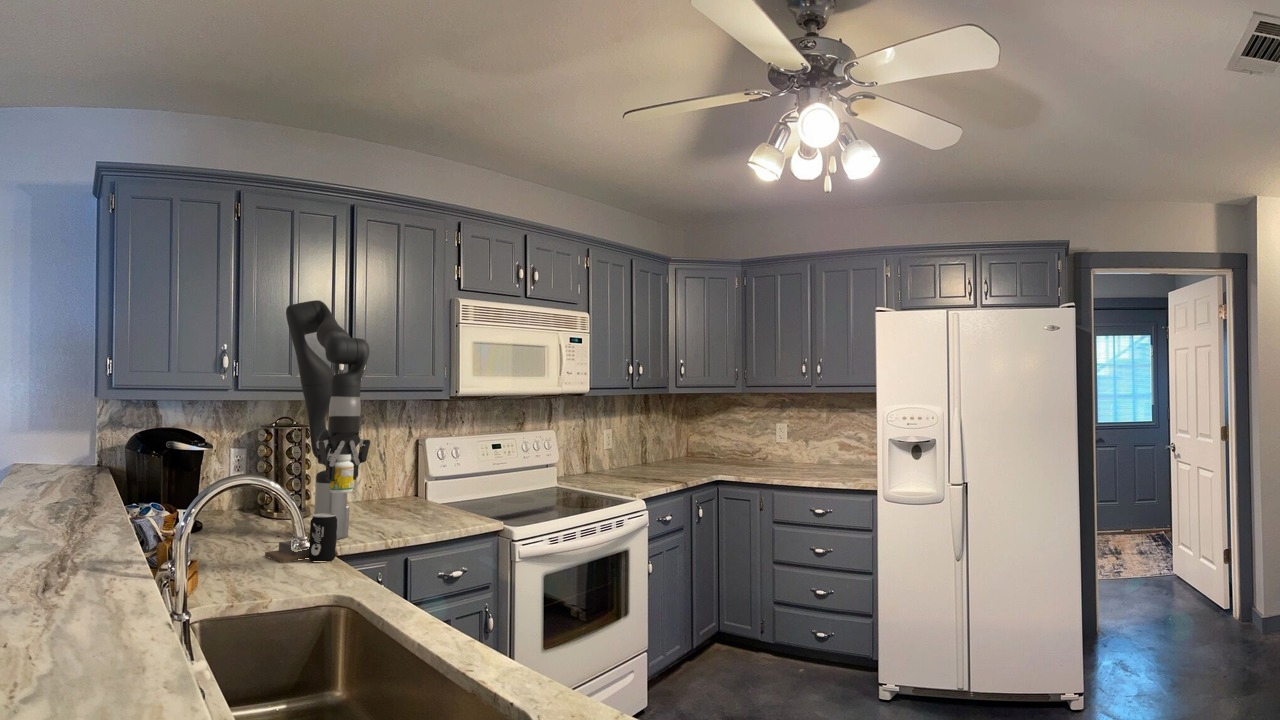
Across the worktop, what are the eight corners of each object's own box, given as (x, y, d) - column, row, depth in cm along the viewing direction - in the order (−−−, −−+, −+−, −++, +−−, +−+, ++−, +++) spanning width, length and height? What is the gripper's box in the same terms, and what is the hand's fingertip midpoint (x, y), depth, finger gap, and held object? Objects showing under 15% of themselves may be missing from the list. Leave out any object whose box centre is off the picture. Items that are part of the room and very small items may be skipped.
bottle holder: (316, 549, 200) (317, 536, 200) (335, 555, 193) (336, 541, 193) (264, 556, 189) (265, 542, 189) (283, 562, 182) (283, 548, 182)
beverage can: (337, 561, 185) (339, 515, 186) (310, 564, 181) (312, 517, 182) (333, 557, 190) (335, 512, 191) (306, 559, 187) (309, 513, 188)
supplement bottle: (356, 492, 180) (357, 454, 180) (334, 493, 176) (336, 455, 177) (347, 490, 184) (349, 453, 184) (326, 491, 180) (328, 454, 180)
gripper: (363, 414, 189) (360, 477, 188) (310, 414, 178) (306, 481, 177) (378, 414, 184) (375, 479, 183) (324, 414, 173) (321, 483, 172)
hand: (341, 480), depth 180 cm, fingers closed on supplement bottle, 5 cm apart
